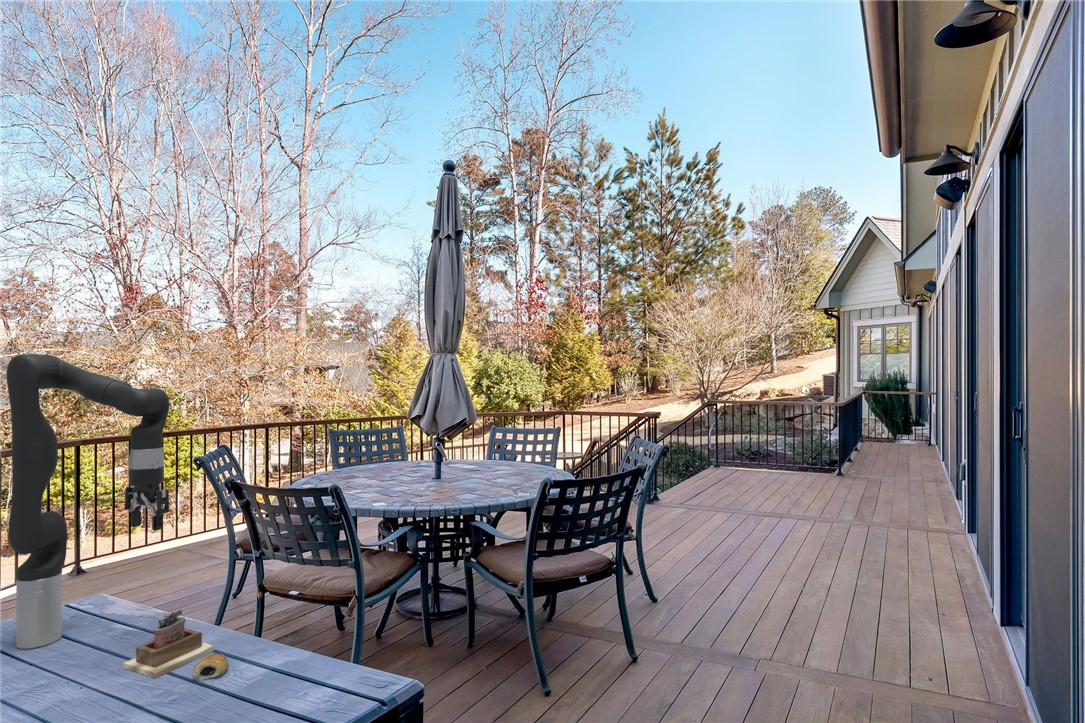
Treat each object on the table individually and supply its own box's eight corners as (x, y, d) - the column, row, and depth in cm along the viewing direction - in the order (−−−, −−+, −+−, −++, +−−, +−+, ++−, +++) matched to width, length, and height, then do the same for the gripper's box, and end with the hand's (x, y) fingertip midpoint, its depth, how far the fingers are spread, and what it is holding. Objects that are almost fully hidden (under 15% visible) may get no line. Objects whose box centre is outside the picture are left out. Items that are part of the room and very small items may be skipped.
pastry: (201, 663, 146) (201, 647, 146) (232, 660, 148) (232, 644, 148) (191, 682, 137) (191, 666, 137) (224, 678, 139) (224, 662, 139)
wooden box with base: (122, 667, 144) (122, 648, 144) (182, 641, 158) (182, 623, 158) (155, 678, 139) (155, 657, 139) (214, 650, 153) (214, 631, 153)
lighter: (160, 662, 144) (160, 620, 144) (149, 661, 145) (149, 619, 145) (188, 647, 152) (189, 607, 152) (178, 646, 153) (178, 606, 153)
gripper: (114, 466, 156) (114, 528, 156) (149, 469, 150) (149, 534, 150) (143, 461, 163) (143, 522, 163) (178, 465, 157) (178, 527, 157)
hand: (146, 528), depth 156 cm, fingers open, 8 cm apart
